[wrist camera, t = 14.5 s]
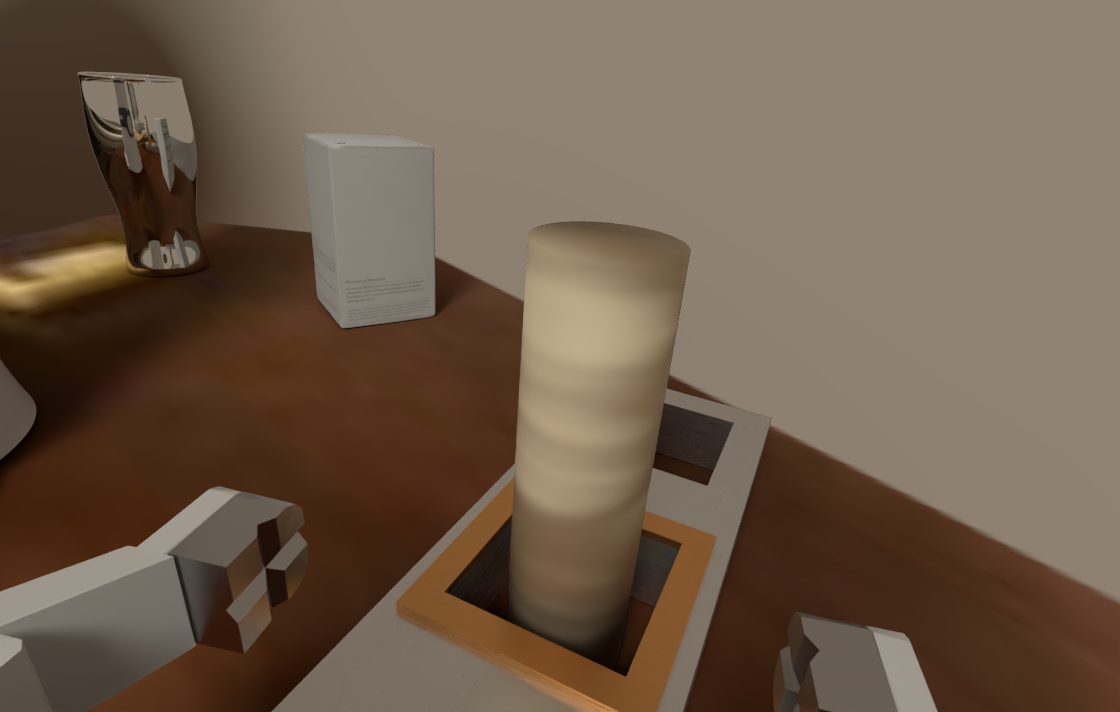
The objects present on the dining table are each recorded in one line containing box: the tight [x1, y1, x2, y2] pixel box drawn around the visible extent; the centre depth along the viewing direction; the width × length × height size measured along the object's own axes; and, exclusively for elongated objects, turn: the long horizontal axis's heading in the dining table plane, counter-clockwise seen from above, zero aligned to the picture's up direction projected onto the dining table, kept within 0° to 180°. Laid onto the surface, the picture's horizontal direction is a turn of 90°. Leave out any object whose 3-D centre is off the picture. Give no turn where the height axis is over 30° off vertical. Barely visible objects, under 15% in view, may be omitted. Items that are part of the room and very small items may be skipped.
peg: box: [506, 222, 690, 671], centre depth 18 cm, size 4×4×14 cm
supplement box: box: [303, 134, 435, 328], centre depth 44 cm, size 7×7×13 cm
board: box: [272, 389, 772, 712], centre depth 23 cm, size 23×9×3 cm, turn 155°
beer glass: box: [78, 72, 209, 277], centre depth 49 cm, size 7×7×15 cm
